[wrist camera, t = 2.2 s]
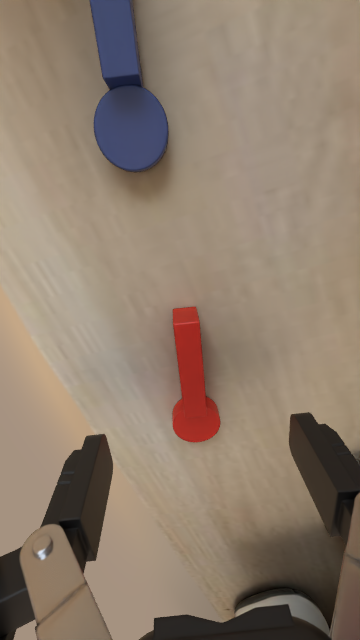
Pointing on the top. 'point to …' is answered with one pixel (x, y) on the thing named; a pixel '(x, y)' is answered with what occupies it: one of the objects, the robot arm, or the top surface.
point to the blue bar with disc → (125, 93)
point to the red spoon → (192, 381)
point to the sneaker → (296, 601)
